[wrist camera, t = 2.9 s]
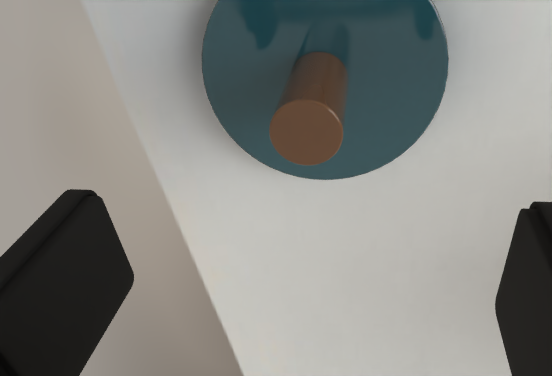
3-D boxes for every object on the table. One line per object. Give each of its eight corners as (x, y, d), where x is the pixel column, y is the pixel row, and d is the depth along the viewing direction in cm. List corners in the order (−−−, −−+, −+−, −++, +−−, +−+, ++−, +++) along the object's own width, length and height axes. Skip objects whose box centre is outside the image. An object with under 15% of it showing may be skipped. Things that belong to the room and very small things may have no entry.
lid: (230, 166, 22) (194, 242, 18) (187, -50, 17) (118, -18, 12) (432, 166, 20) (449, 252, 16) (460, -78, 15) (500, -54, 10)
